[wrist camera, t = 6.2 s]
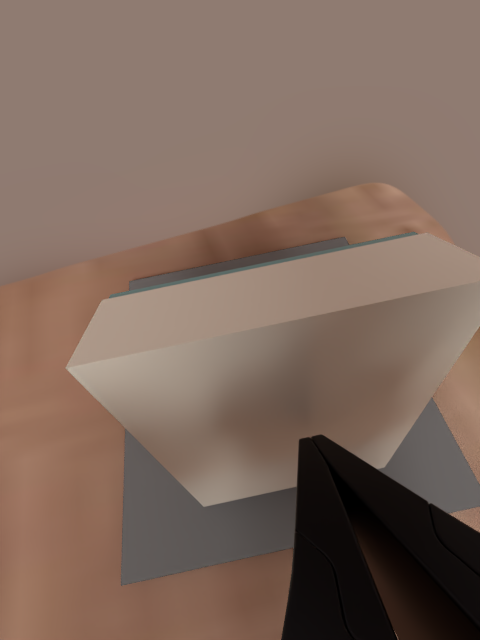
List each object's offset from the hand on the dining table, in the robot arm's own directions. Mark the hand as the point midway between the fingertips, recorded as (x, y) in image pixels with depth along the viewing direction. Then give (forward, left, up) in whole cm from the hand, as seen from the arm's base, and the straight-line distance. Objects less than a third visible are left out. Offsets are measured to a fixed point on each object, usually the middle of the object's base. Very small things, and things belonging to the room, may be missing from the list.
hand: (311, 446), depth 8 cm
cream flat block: (0, +1, -7) cm, 7 cm away
